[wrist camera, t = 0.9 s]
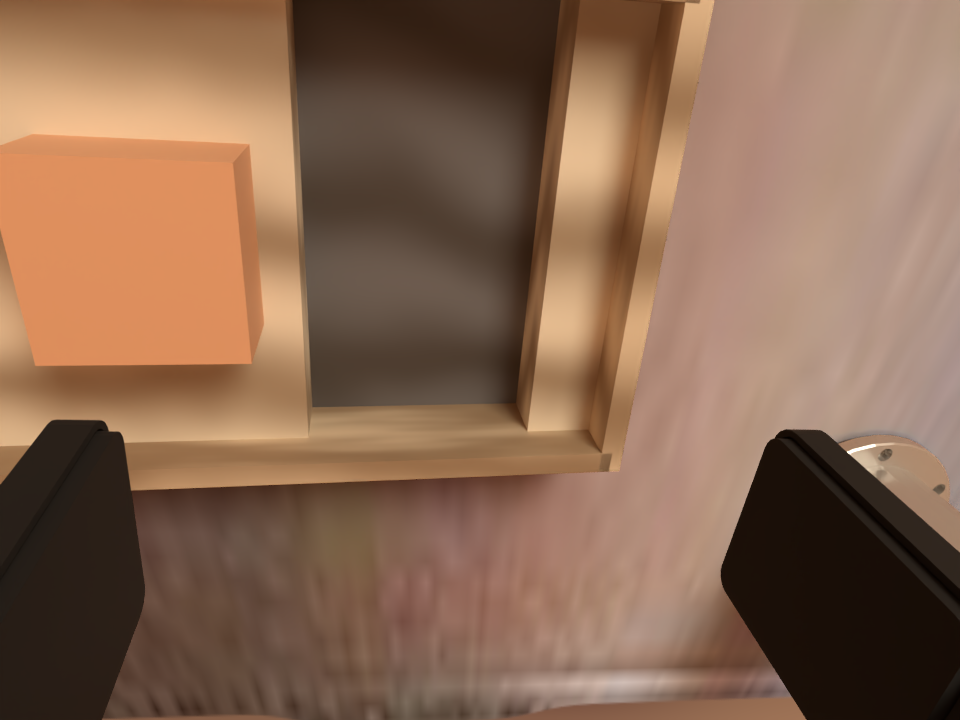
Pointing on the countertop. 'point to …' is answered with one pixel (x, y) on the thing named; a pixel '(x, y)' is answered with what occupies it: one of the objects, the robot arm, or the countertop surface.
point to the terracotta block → (132, 249)
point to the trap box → (381, 226)
